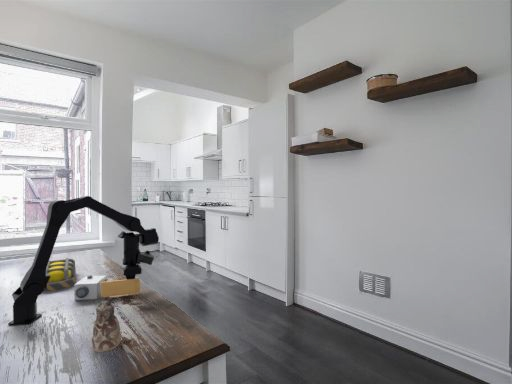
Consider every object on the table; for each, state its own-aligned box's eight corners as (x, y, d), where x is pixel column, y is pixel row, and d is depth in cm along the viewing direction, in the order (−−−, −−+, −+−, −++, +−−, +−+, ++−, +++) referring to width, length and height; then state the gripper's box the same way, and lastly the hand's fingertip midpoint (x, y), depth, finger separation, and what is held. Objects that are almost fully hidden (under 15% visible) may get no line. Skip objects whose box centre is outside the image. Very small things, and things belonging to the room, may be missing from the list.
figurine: (85, 350, 78) (84, 305, 78) (103, 336, 85) (102, 295, 85) (109, 352, 77) (108, 306, 76) (126, 338, 84) (125, 296, 83)
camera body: (94, 300, 112) (94, 282, 112) (72, 301, 111) (71, 283, 111) (107, 289, 124) (107, 273, 124) (87, 290, 123) (86, 274, 123)
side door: (97, 298, 113) (96, 283, 113) (97, 297, 114) (97, 282, 114) (139, 294, 118) (139, 279, 118) (140, 293, 119) (139, 278, 119)
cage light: (75, 255, 153) (75, 269, 127) (75, 271, 153) (75, 287, 127) (40, 259, 145) (32, 275, 120) (40, 276, 145) (33, 294, 120)
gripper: (155, 251, 114) (155, 291, 115) (150, 241, 131) (150, 276, 132) (123, 253, 110) (123, 295, 110) (122, 243, 126) (122, 280, 127)
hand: (131, 286), depth 120 cm, fingers closed
